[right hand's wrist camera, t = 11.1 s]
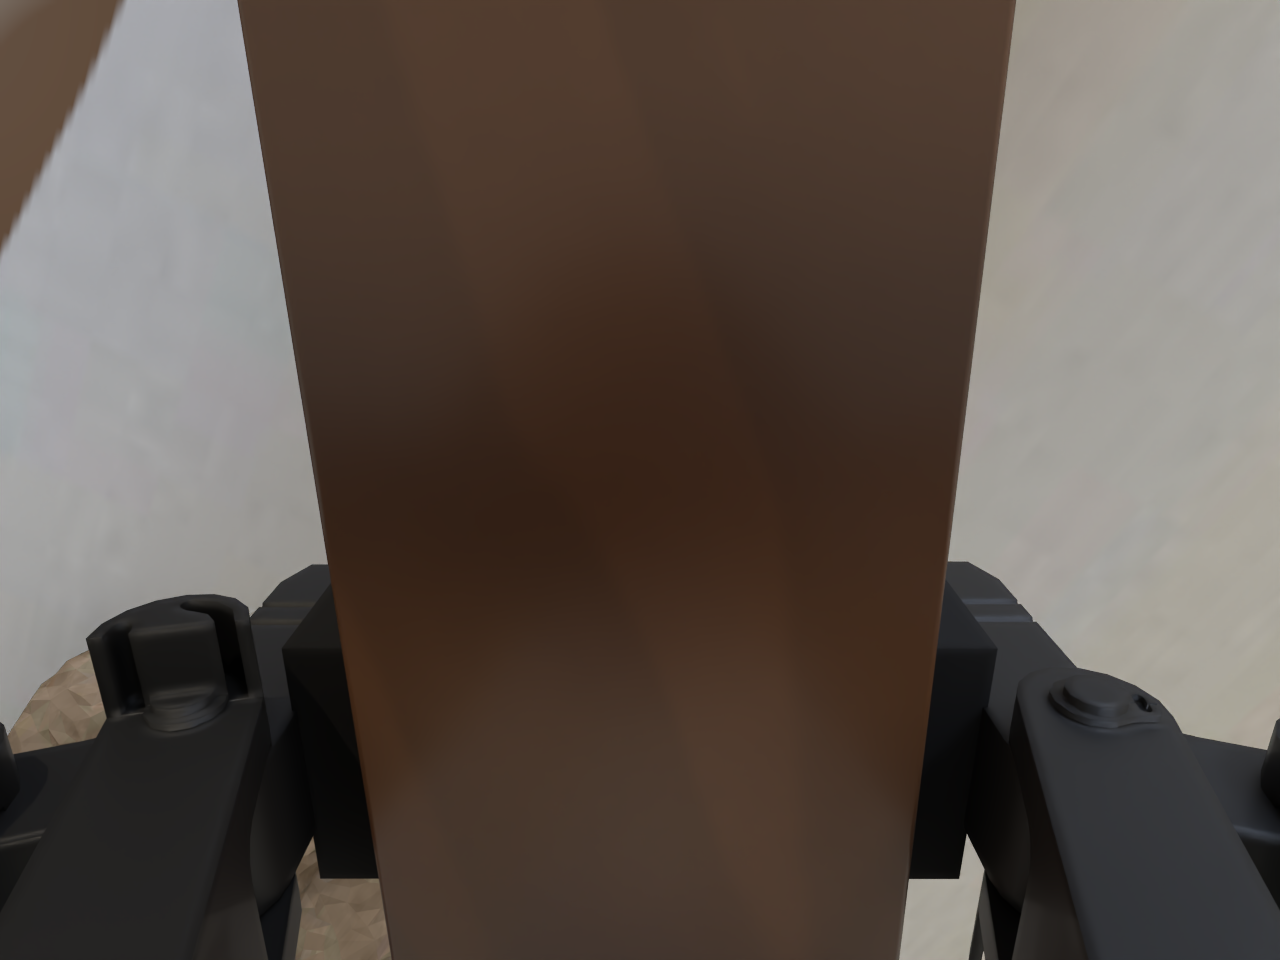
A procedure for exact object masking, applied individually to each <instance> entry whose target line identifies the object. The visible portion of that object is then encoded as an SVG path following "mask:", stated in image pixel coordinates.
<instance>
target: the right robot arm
mask: <svg viewBox="0 0 1280 960" xmlns="http://www.w3.org/2000/svg"><path fill="white" fill-rule="evenodd" d="M86 641H87V645H88V649H89V653H90V656H91V660H92V664H93V668H94V672H95V676H96V680H97V683H98V687H99V691H100V695H101V699H102V703H103V707H104V710H105V714H106V720H105V722H104V724H103V726H102V728H101V729H100V731H99V733H98V735H97V737H96V738H93V739H89V740H85V741H80V742H75V743H70V744H64V745H59V746H54V747H48V748H43V749H38V750H33V751H27V752H22V753H17V754H13V752H12V749H11V746H10V743H9V739H8V736H7V733H6V730H5V727H4V725H3V724H2V723H1V722H0V960H295V956H296V949H297V942H298V935H299V928H300V921H301V913H302V907H301V899H300V892H299V886H298V881H297V875H296V870H297V868H298V866H299V864H300V862H301V860H302V858H303V856H304V854H305V852H306V850H307V848H308V846H309V844H310V842H311V839H312V837H313V839H314V844H315V850H316V856H317V862H318V868H319V874H320V879H379V878H378V871H377V865H376V859H375V853H374V847H373V840H372V834H371V828H370V822H369V815H368V809H367V803H366V797H365V791H364V784H363V778H362V772H361V766H360V759H359V753H358V747H357V741H356V735H355V728H354V722H353V716H352V710H351V703H350V697H349V691H348V685H347V679H346V672H345V666H344V660H343V654H342V647H341V641H340V635H339V629H338V623H337V616H336V610H335V604H334V598H333V591H332V585H331V579H330V573H329V567H328V565H310V566H309V567H307V568H305V569H303V570H302V571H300V572H298V573H296V574H295V575H293V576H291V577H289V578H288V579H286V580H284V581H282V582H281V583H280V584H279V585H278V586H277V587H276V588H275V590H274V591H273V592H272V593H271V594H270V595H269V596H268V598H267V599H266V600H265V601H264V602H263V606H262V607H259V608H258V609H257V610H256V611H255V612H254V614H253V615H252V616H251V617H250V616H249V610H248V607H247V606H246V605H244V604H243V603H241V602H240V601H239V600H237V599H236V598H231V597H226V596H221V595H215V594H206V595H184V596H179V597H173V598H168V599H163V600H157V601H154V602H151V603H148V604H145V605H142V606H139V607H136V608H133V609H130V610H127V611H125V612H123V613H121V614H119V615H118V616H116V617H114V618H112V619H110V620H108V621H106V622H104V623H103V624H101V625H100V626H99V627H98V628H97V629H96V630H95V631H94V632H93V633H92V634H90V635H89V636H88V637H87V638H86ZM967 834H968V837H969V839H970V841H971V843H972V845H973V847H974V849H975V851H976V853H977V855H978V857H979V859H980V861H981V863H982V865H983V867H984V869H985V870H984V875H983V881H982V886H981V892H980V897H979V903H978V908H977V914H976V920H975V925H974V931H973V936H972V942H971V947H970V954H969V960H982V954H983V951H984V954H985V960H1280V719H1278V720H1277V721H1276V724H1275V727H1274V730H1273V733H1272V737H1271V740H1270V743H1269V746H1268V750H1263V749H1258V748H1253V747H1247V746H1242V745H1237V744H1231V743H1226V742H1220V741H1215V740H1210V739H1204V738H1199V737H1195V736H1191V735H1187V734H1183V733H1182V732H1181V730H1180V728H1179V726H1178V724H1177V722H1176V721H1175V719H1174V717H1173V716H1172V715H1171V714H1170V713H1169V711H1168V710H1167V709H1166V708H1165V707H1164V706H1163V705H1162V704H1161V702H1160V701H1159V700H1157V699H1156V698H1154V697H1153V696H1151V695H1149V694H1148V693H1146V692H1145V691H1143V690H1142V689H1140V688H1138V687H1137V686H1135V685H1133V684H1130V683H1128V682H1125V681H1123V680H1120V679H1118V678H1115V677H1113V676H1110V675H1108V674H1103V673H1099V672H1094V671H1090V670H1085V669H1080V668H1077V667H1076V666H1075V665H1074V664H1073V663H1072V662H1071V660H1070V659H1069V658H1068V657H1067V656H1066V655H1065V654H1064V653H1063V651H1062V650H1061V649H1060V648H1059V647H1058V646H1057V645H1056V643H1055V642H1054V641H1053V640H1052V639H1051V638H1050V637H1049V636H1048V634H1047V633H1046V632H1045V631H1044V630H1043V629H1042V628H1041V627H1040V625H1039V624H1038V623H1037V622H1033V620H1032V616H1031V615H1030V614H1029V613H1028V612H1027V611H1026V610H1025V608H1024V607H1023V606H1022V605H1021V604H1017V599H1016V598H1015V597H1014V596H1013V595H1012V594H1011V593H1010V591H1009V590H1008V589H1007V588H1006V587H1005V586H1004V585H1003V583H1002V582H1001V581H1000V580H999V579H997V578H996V577H994V576H992V575H990V574H988V573H987V572H985V571H983V570H981V569H980V568H978V567H976V566H974V565H973V564H971V563H969V562H947V570H946V578H945V587H944V595H943V603H942V611H941V619H940V628H939V636H938V644H937V652H936V660H935V669H934V677H933V685H932V693H931V701H930V710H929V718H928V726H927V734H926V742H925V750H924V759H923V767H922V775H921V783H920V791H919V800H918V808H917V816H916V824H915V832H914V841H913V849H912V857H911V865H910V873H909V879H959V876H960V870H961V864H962V858H963V852H964V846H965V841H966V835H967Z"/></svg>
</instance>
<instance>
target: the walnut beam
mask: <svg viewBox="0 0 1280 960" xmlns="http://www.w3.org/2000/svg"><path fill="white" fill-rule="evenodd" d="M237 1H238V7H239V13H240V19H241V25H242V32H243V38H244V44H245V50H246V57H247V63H248V69H249V75H250V81H251V88H252V94H253V100H254V106H255V113H256V119H257V125H258V131H259V137H260V144H261V150H262V156H263V162H264V169H265V175H266V181H267V187H268V193H269V200H270V206H271V212H272V218H273V225H274V231H275V237H276V243H277V249H278V256H279V262H280V268H281V274H282V280H283V287H284V293H285V299H286V305H287V312H288V318H289V324H290V330H291V336H292V343H293V349H294V355H295V361H296V368H297V374H298V380H299V386H300V392H301V399H302V405H303V411H304V417H305V424H306V430H307V436H308V442H309V448H310V455H311V461H312V467H313V473H314V480H315V486H316V492H317V498H318V504H319V511H320V517H321V523H322V529H323V536H324V542H325V548H326V554H327V560H328V567H329V573H330V579H331V585H332V591H333V598H334V604H335V610H336V616H337V623H338V629H339V635H340V641H341V647H342V654H343V660H344V666H345V672H346V679H347V685H348V691H349V697H350V703H351V710H352V716H353V722H354V728H355V735H356V741H357V747H358V753H359V759H360V766H361V772H362V778H363V784H364V791H365V797H366V803H367V809H368V815H369V822H370V828H371V834H372V840H373V847H374V853H375V859H376V865H377V871H378V878H379V884H380V890H381V896H382V902H383V909H384V915H385V921H386V927H387V934H388V940H389V946H390V952H391V958H392V960H899V955H900V947H901V939H902V931H903V923H904V914H905V906H906V898H907V890H908V882H909V873H910V865H911V857H912V849H913V841H914V832H915V824H916V816H917V808H918V800H919V791H920V783H921V775H922V767H923V759H924V750H925V742H926V734H927V726H928V718H929V710H930V701H931V693H932V685H933V677H934V669H935V660H936V652H937V644H938V636H939V628H940V619H941V611H942V603H943V595H944V587H945V578H946V570H947V562H948V554H949V546H950V538H951V529H952V521H953V513H954V505H955V497H956V488H957V480H958V472H959V464H960V456H961V447H962V439H963V431H964V423H965V415H966V406H967V398H968V390H969V382H970V374H971V366H972V357H973V349H974V341H975V333H976V325H977V316H978V308H979V300H980V292H981V284H982V275H983V267H984V259H985V251H986V243H987V234H988V226H989V218H990V210H991V202H992V194H993V185H994V177H995V169H996V161H997V153H998V144H999V136H1000V128H1001V120H1002V112H1003V103H1004V95H1005V87H1006V79H1007V71H1008V62H1009V54H1010V46H1011V38H1012V30H1013V21H1014V13H1015V5H1016V0H237Z"/></svg>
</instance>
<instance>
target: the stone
mask: <svg viewBox="0 0 1280 960" xmlns="http://www.w3.org/2000/svg"><path fill="white" fill-rule="evenodd" d="M105 720H106V714H105V710H104V707H103V703H102V699H101V695H100V691H99V687H98V683H97V680H96V676H95V672H94V668H93V664H92V660H91V656H90V653H89V650H88V651H86V652H84V653H82V654H80V655H78V656H76V657H74V658H72V659H70V660H68V661H67V662H66V663H65V664H64V665H63V666H62V667H61V669H60V670H59V671H58V672H57V673H56V674H55V675H54V676H53V677H51V678H50V679H48V680H47V681H45V682H44V683H43V684H41V686H40V687H39V689H38V690H37V691H36V693H35V694H34V696H33V697H32V699H31V700H30V702H29V703H28V705H27V706H26V708H25V709H24V711H23V712H22V714H21V716H20V717H19V719H18V720H17V722H16V724H15V725H14V727H13V728H12V730H11V731H10V733H9V735H8V739H9V743H10V746H11V749H12V752H13V754H17V753H22V752H27V751H33V750H38V749H43V748H48V747H54V746H59V745H64V744H70V743H75V742H80V741H85V740H89V739H93V738H96V737H97V735H98V733H99V731H100V729H101V728H102V726H103V724H104V722H105ZM296 875H297V881H298V886H299V892H300V899H301V907H302V913H301V921H300V928H299V935H298V942H297V949H296V956H295V960H392V958H391V952H390V946H389V940H388V934H387V927H386V921H385V915H384V909H383V902H382V896H381V890H380V884H379V879H320V874H319V868H318V862H317V856H316V850H315V844H314V839H313V837H312V839H311V842H310V844H309V846H308V848H307V850H306V852H305V854H304V856H303V858H302V860H301V862H300V864H299V866H298V868H297V870H296Z"/></svg>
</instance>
